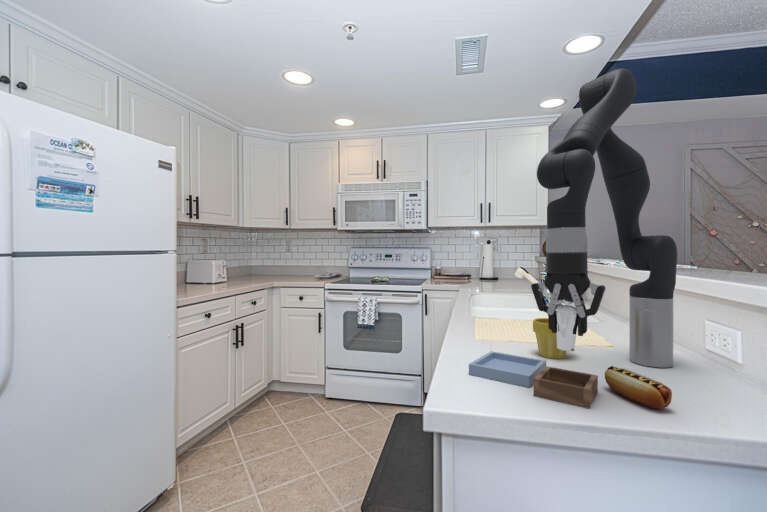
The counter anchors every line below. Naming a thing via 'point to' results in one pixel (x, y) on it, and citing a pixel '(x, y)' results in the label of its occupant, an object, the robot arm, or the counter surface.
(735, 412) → the counter surface
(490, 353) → the tray
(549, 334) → the plant pot
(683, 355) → the counter surface
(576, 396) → the holder
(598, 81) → the robot arm
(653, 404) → the hot dog
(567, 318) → the milkshake
